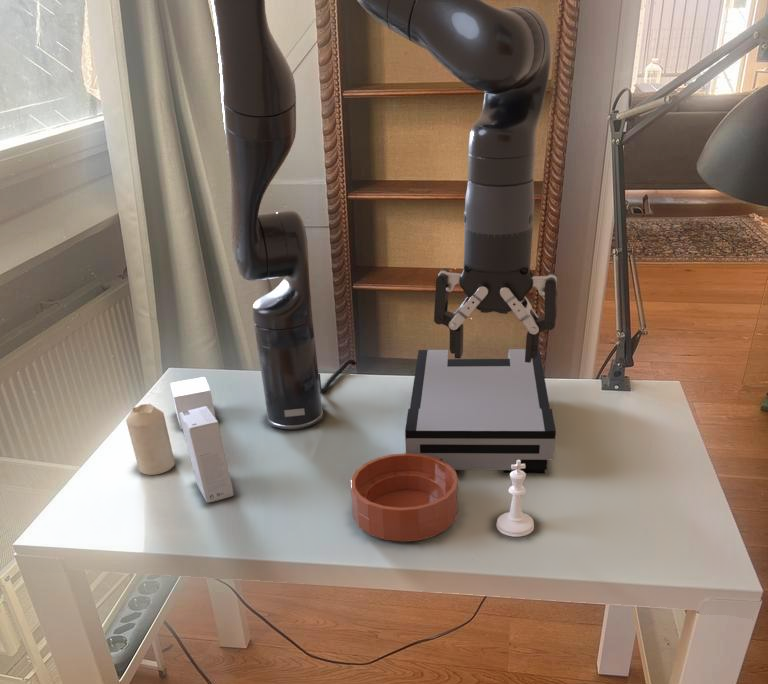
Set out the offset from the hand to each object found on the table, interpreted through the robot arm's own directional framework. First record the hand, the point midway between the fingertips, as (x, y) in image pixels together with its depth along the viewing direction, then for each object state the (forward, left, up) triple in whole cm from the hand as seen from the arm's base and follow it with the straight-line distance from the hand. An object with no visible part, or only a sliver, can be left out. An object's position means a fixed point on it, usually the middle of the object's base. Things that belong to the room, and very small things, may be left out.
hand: (493, 358), depth 96 cm
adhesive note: (-18, -53, -22) cm, 60 cm away
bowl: (+4, -11, -22) cm, 24 cm away
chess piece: (+5, +4, -22) cm, 23 cm away
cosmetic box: (+3, -40, -22) cm, 45 cm away
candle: (-2, -52, -22) cm, 56 cm away
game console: (-22, -5, -22) cm, 31 cm away
